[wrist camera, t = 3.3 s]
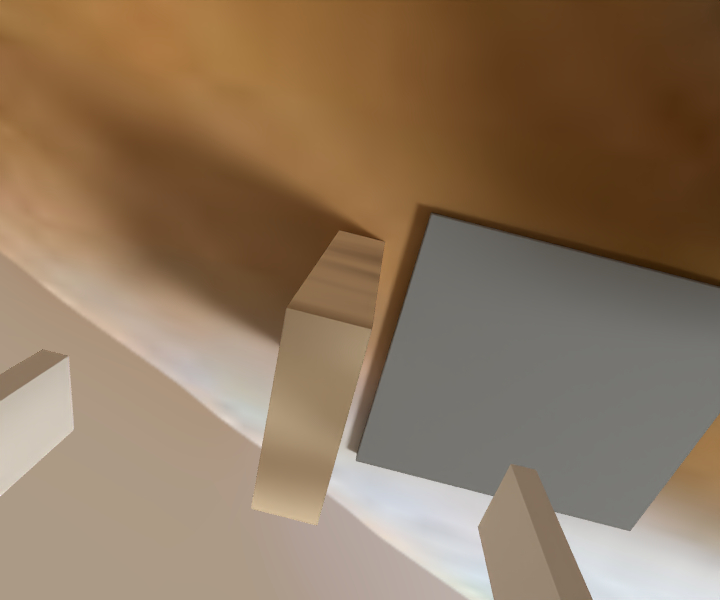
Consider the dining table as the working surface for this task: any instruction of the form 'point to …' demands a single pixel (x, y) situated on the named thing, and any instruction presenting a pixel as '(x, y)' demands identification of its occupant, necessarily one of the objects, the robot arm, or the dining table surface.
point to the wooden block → (317, 377)
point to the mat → (545, 372)
